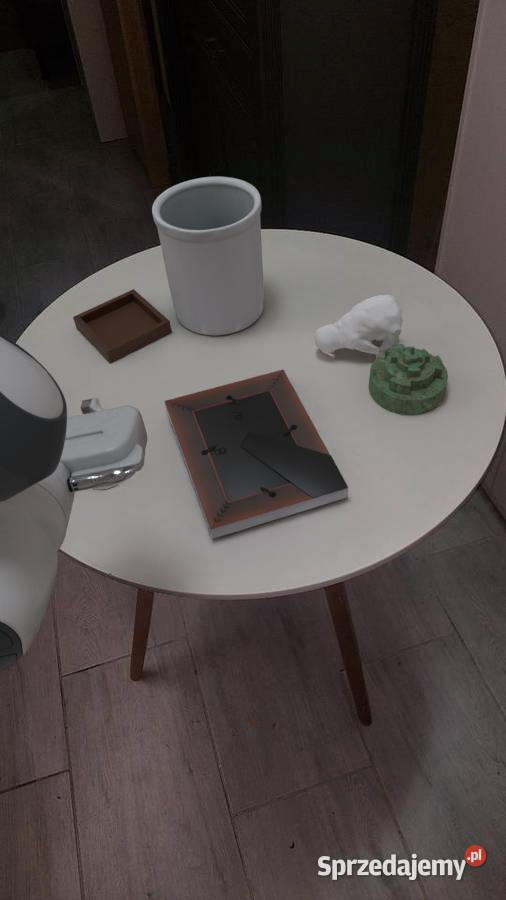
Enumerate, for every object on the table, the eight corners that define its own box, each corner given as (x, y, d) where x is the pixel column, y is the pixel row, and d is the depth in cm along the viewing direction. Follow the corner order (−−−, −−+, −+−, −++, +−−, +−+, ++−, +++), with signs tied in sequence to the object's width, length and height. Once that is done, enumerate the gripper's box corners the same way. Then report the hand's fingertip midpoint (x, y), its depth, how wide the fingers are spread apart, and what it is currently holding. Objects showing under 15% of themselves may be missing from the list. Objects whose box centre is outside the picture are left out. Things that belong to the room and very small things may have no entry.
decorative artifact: (420, 355, 96) (355, 375, 94) (427, 314, 90) (359, 334, 88) (459, 401, 89) (390, 423, 87) (469, 360, 84) (396, 383, 82)
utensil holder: (151, 308, 106) (130, 204, 93) (224, 268, 112) (213, 164, 99) (212, 352, 98) (198, 245, 85) (286, 306, 104) (284, 199, 91)
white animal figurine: (406, 310, 88) (314, 325, 89) (405, 360, 95) (319, 373, 95) (396, 282, 92) (308, 296, 93) (396, 331, 99) (313, 343, 100)
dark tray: (110, 363, 98) (107, 352, 96) (76, 327, 104) (72, 316, 102) (172, 332, 102) (170, 321, 100) (136, 299, 108) (133, 288, 106)
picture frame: (347, 499, 80) (283, 381, 93) (348, 486, 78) (283, 368, 92) (212, 541, 77) (167, 413, 91) (209, 528, 75) (164, 399, 89)
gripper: (131, 441, 53) (141, 364, 64) (-125, 492, 53) (-70, 407, 65) (152, 505, 56) (158, 421, 68) (-89, 552, 57) (-42, 461, 68)
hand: (45, 414), depth 66 cm, fingers open, 8 cm apart
